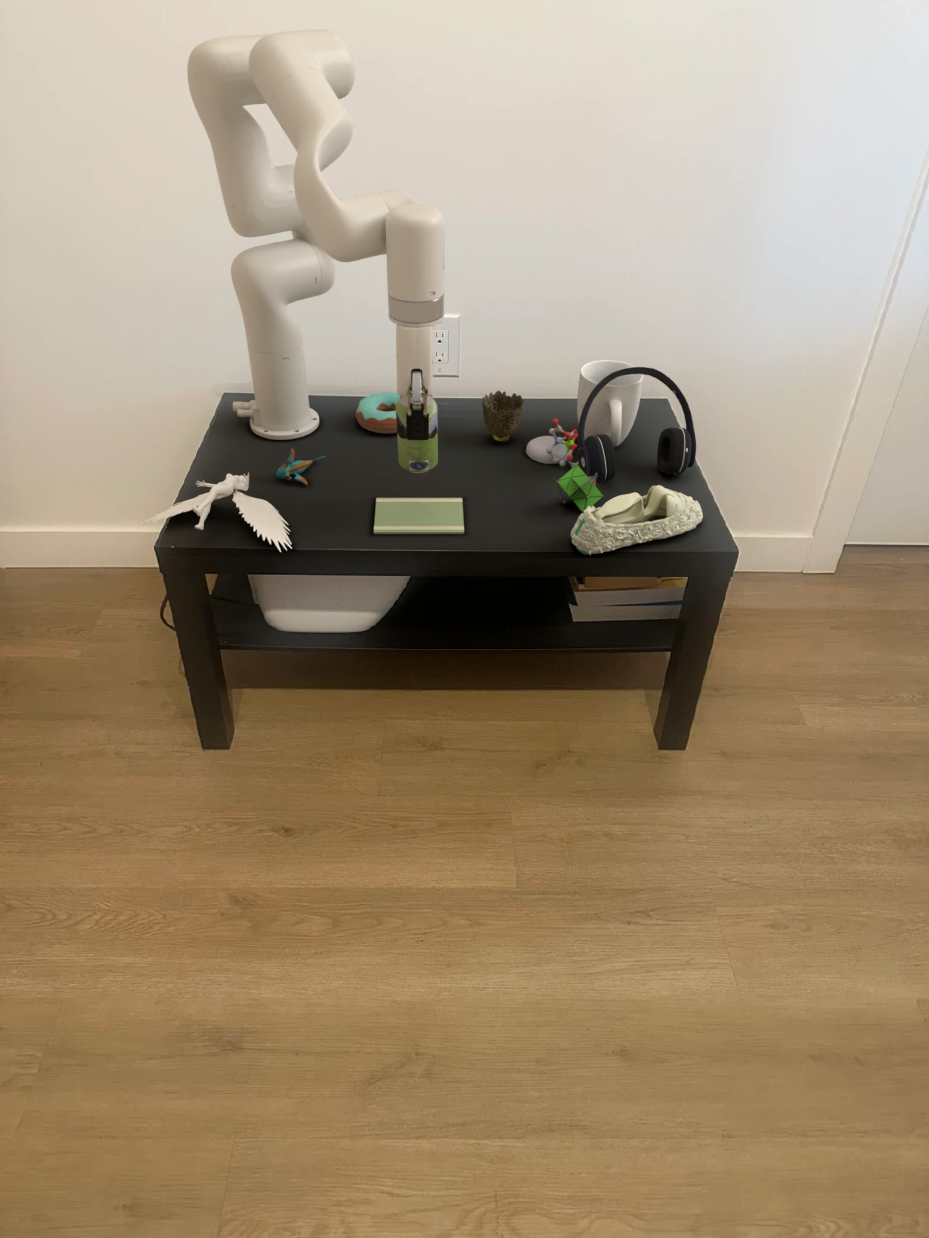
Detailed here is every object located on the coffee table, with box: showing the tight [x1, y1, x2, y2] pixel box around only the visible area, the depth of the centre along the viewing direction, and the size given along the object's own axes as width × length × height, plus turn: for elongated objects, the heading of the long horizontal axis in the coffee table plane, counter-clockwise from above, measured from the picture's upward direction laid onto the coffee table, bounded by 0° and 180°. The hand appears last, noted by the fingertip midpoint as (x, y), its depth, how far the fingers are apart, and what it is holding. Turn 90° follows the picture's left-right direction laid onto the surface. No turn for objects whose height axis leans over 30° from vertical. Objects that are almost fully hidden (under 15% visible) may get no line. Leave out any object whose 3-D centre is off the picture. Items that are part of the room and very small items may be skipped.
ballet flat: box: [570, 484, 704, 556], centre depth 133 cm, size 9×24×8 cm, turn 120°
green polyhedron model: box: [556, 464, 605, 514], centre depth 139 cm, size 7×7×8 cm
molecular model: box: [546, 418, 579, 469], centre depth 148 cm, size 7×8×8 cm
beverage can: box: [396, 389, 439, 474], centre depth 129 cm, size 6×7×12 cm
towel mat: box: [373, 497, 465, 535], centre depth 138 cm, size 14×10×1 cm
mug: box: [576, 359, 644, 448], centre depth 153 cm, size 15×11×13 cm
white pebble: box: [525, 435, 571, 465], centre depth 154 cm, size 8×8×2 cm
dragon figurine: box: [276, 447, 326, 486], centre depth 147 cm, size 7×7×8 cm
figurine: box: [138, 472, 293, 553], centre depth 132 cm, size 12×25×14 cm
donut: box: [355, 391, 400, 435], centre depth 161 cm, size 12×12×4 cm
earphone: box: [576, 366, 697, 484], centre depth 146 cm, size 20×7×18 cm
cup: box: [481, 390, 525, 445], centre depth 155 cm, size 8×7×8 cm
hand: (418, 427), depth 128 cm, fingers closed on beverage can, 6 cm apart
